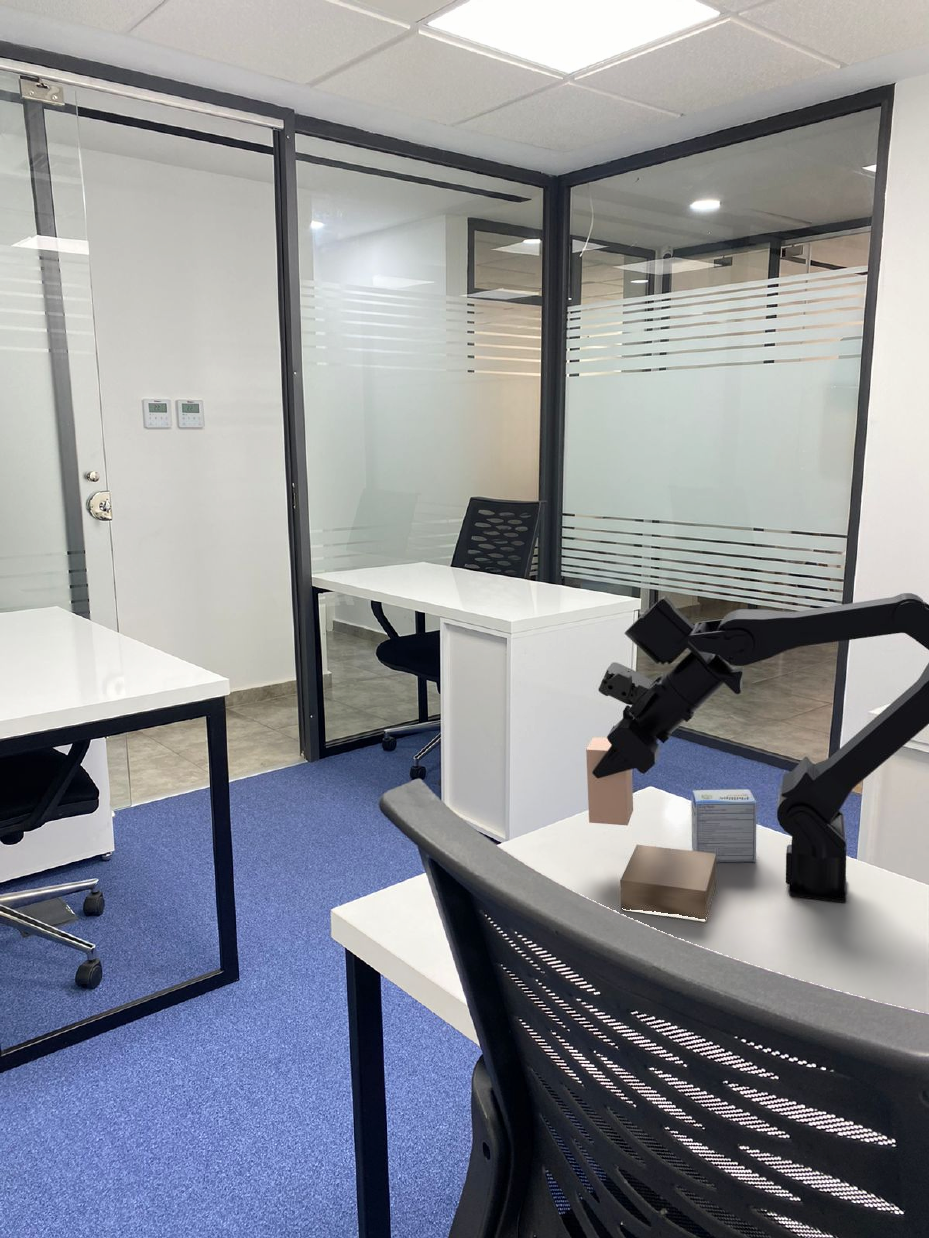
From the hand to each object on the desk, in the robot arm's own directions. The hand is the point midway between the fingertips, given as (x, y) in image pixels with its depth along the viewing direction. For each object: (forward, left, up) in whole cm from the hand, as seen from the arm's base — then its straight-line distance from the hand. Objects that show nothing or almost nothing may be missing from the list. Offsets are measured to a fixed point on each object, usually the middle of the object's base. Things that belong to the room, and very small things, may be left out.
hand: (599, 768), depth 121 cm
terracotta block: (-1, 0, -7) cm, 7 cm away
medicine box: (-15, -7, -14) cm, 21 cm away
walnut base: (-10, +6, -14) cm, 18 cm away
